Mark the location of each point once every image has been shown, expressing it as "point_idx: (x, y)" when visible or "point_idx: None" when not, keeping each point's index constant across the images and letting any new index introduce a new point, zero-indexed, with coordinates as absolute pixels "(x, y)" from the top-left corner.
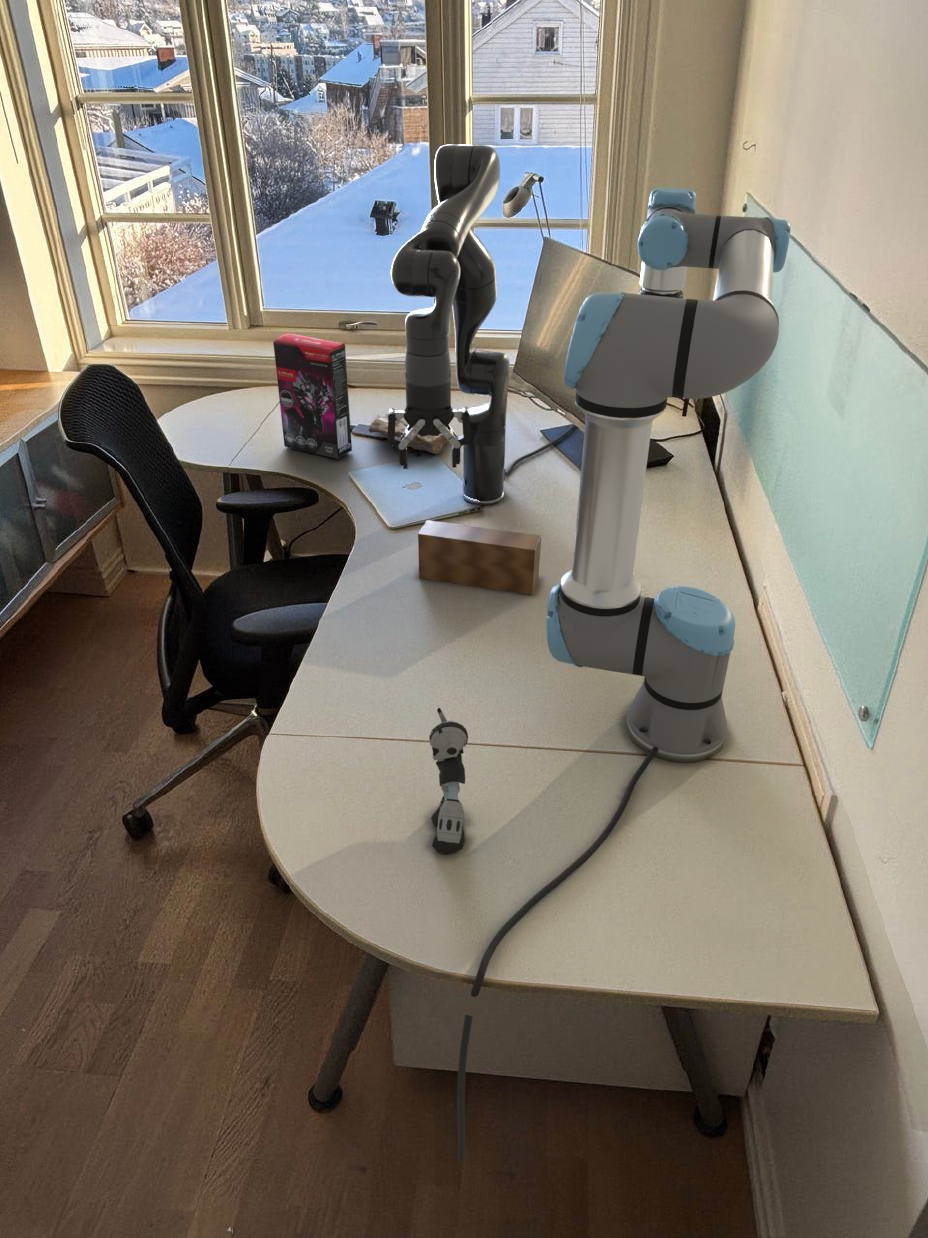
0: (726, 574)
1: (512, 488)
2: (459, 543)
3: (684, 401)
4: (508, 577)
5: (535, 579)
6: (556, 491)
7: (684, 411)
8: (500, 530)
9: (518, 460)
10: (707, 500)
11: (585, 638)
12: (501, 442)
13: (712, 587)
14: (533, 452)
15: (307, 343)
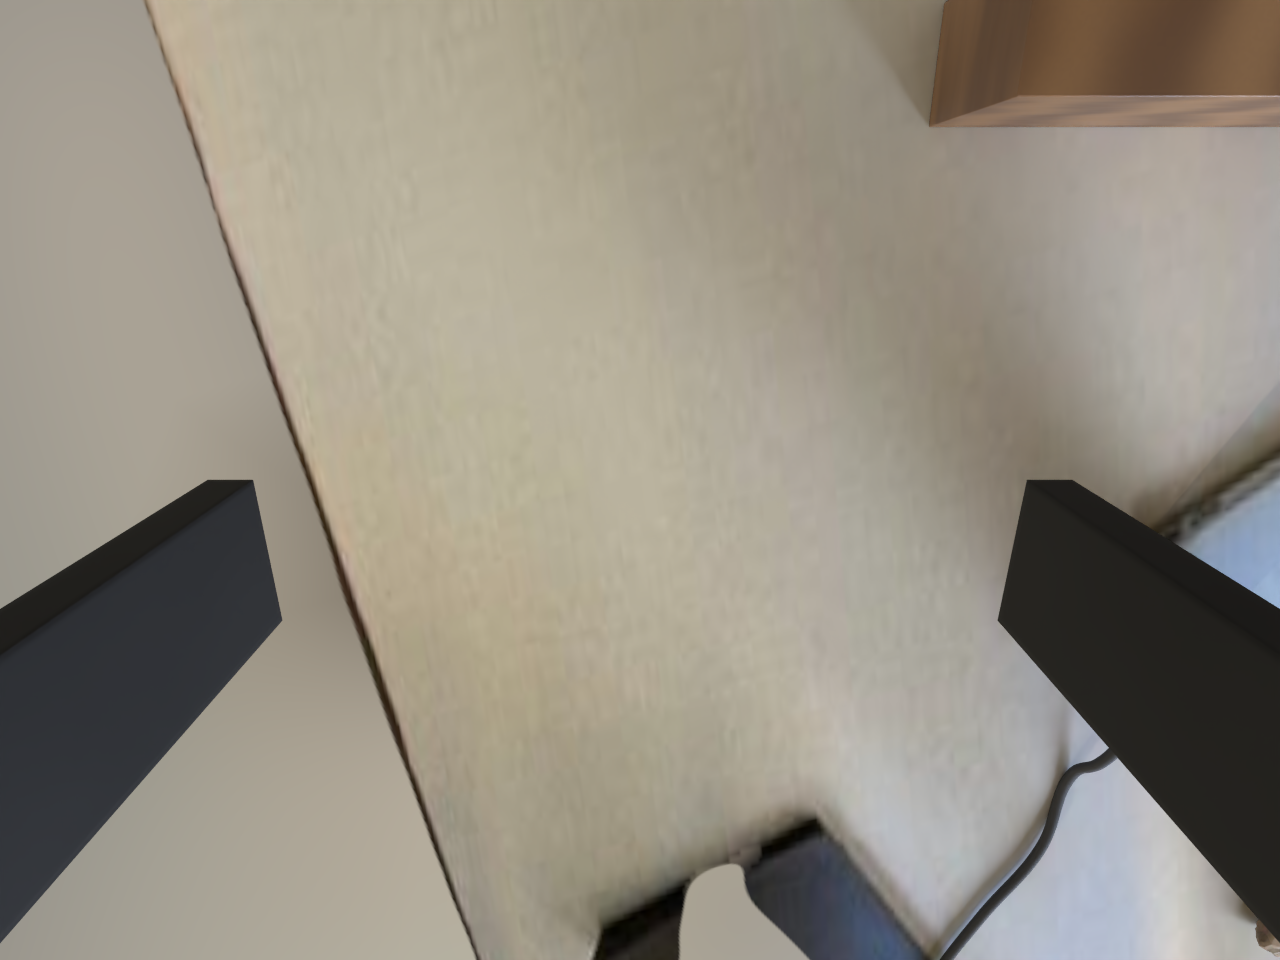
0: (325, 348)
1: (1044, 700)
2: None
3: (141, 556)
4: None
5: (953, 46)
6: (905, 714)
7: (201, 501)
8: (1204, 88)
9: (1037, 852)
10: (457, 769)
11: None
12: None
13: (351, 249)
14: (993, 905)
15: None
